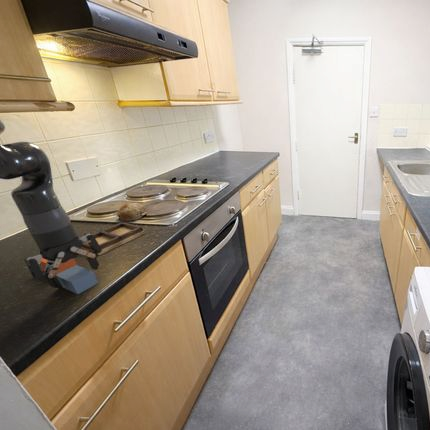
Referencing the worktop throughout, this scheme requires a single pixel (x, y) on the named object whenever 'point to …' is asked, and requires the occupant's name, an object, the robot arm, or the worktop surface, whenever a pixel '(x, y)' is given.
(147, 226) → the worktop surface
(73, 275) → the blue bevelled block
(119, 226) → the brown wooden tray
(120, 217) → the bread roll
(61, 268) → the terracotta pad
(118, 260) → the worktop surface
